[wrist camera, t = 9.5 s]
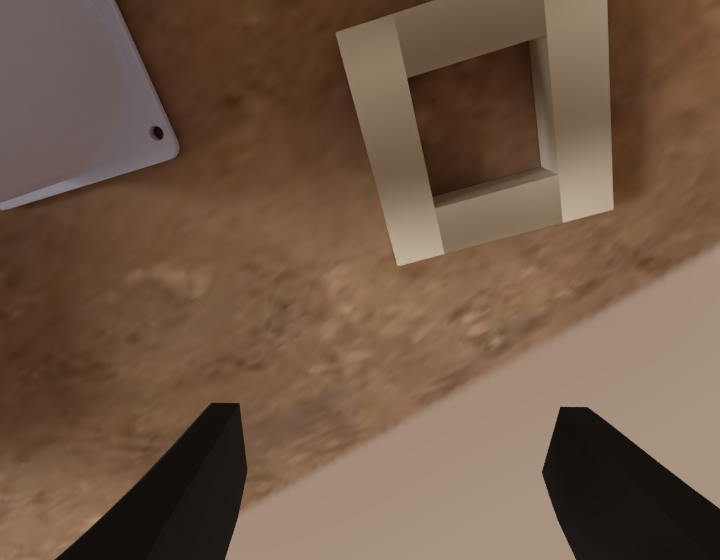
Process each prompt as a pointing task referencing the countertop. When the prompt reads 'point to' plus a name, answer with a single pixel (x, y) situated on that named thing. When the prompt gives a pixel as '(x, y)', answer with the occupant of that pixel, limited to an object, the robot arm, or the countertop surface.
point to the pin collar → (552, 104)
